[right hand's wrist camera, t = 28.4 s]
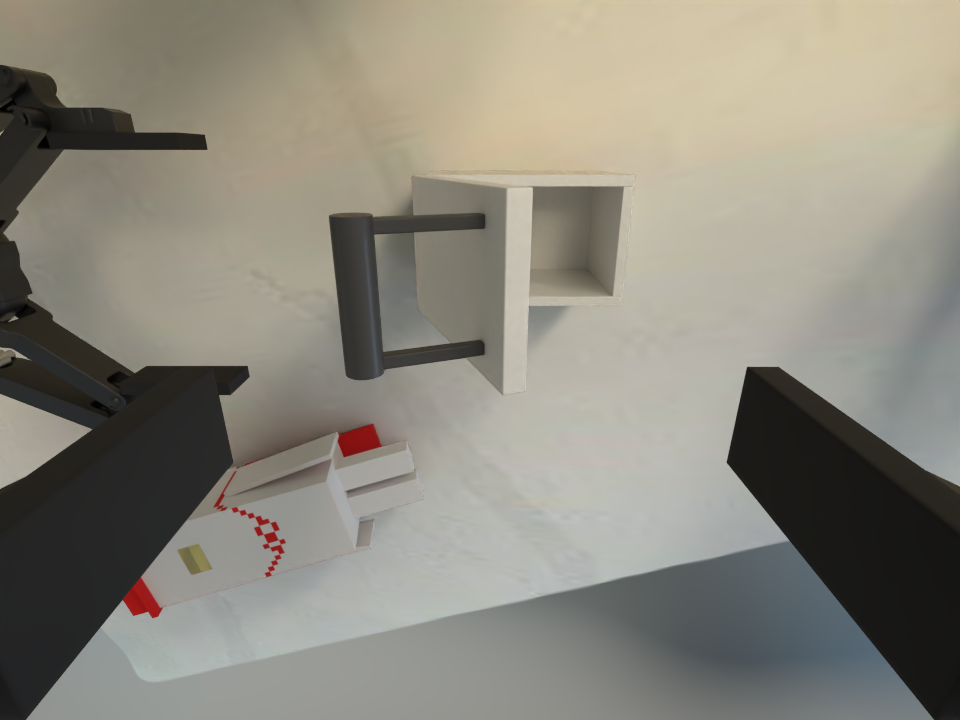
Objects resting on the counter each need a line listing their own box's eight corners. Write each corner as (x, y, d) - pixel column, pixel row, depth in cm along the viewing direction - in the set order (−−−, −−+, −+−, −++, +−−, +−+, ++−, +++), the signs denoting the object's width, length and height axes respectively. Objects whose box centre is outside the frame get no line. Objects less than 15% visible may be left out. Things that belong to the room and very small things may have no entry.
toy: (432, 547, 51) (137, 634, 50) (427, 475, 64) (191, 543, 62) (396, 446, 47) (72, 538, 45) (399, 390, 59) (145, 460, 58)
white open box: (601, 171, 47) (635, 175, 36) (592, 275, 51) (621, 306, 40) (433, 170, 47) (421, 174, 36) (437, 275, 50) (426, 306, 40)
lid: (533, 187, 22) (333, 191, 19) (526, 392, 25) (356, 421, 23) (428, 175, 36) (305, 176, 33) (433, 307, 40) (322, 319, 37)
